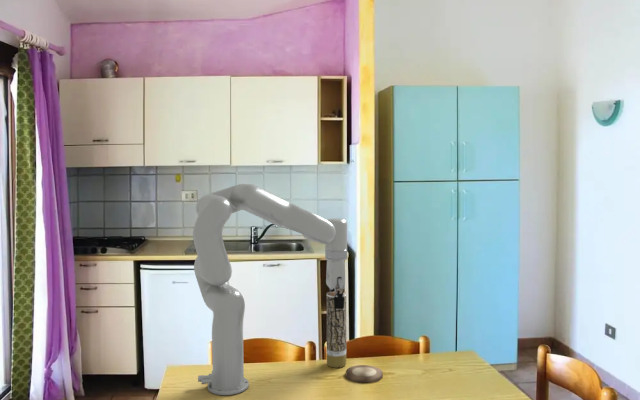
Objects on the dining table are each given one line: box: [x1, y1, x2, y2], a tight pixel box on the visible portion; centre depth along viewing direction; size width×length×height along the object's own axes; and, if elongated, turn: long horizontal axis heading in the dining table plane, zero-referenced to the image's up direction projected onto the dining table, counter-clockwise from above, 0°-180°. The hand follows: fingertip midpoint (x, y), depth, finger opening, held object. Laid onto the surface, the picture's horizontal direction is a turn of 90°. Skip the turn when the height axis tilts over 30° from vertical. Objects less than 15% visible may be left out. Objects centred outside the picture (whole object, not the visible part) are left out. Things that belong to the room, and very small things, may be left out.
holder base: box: [345, 364, 383, 384], centre depth 174 cm, size 12×12×1 cm
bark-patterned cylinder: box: [325, 291, 347, 369], centre depth 183 cm, size 7×7×25 cm
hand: (336, 304), depth 183 cm, fingers open, 8 cm apart
